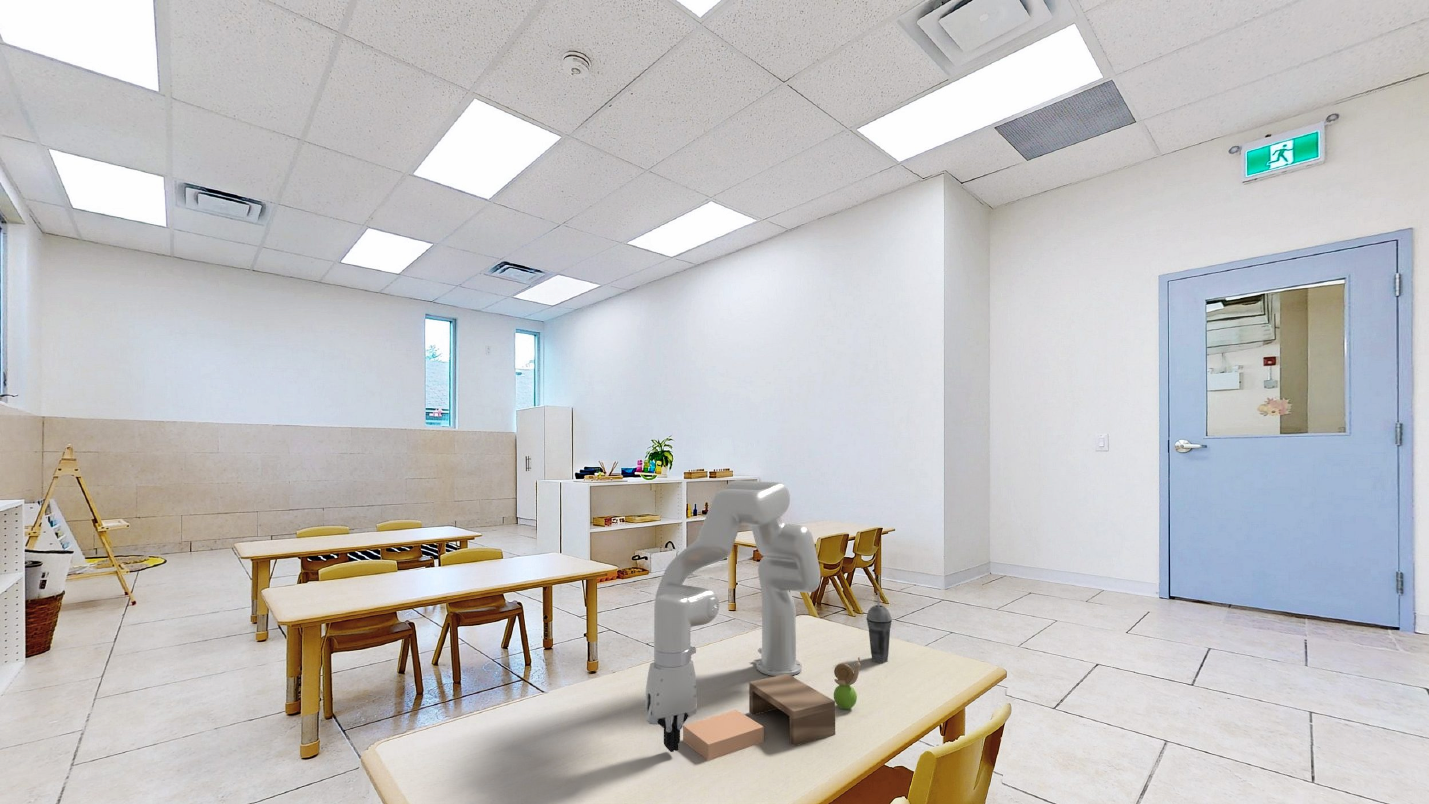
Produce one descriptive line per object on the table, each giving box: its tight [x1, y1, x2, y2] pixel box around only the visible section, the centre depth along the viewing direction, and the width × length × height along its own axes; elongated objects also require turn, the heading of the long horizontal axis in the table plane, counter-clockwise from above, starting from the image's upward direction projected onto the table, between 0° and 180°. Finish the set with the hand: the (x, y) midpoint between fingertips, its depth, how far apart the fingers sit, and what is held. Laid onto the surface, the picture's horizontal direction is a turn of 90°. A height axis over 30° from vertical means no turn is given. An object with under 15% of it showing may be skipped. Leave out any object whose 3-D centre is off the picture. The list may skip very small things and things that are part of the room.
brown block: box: [748, 674, 836, 747], centre depth 139 cm, size 18×11×7 cm, turn 28°
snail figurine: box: [833, 656, 861, 710], centre depth 147 cm, size 5×6×12 cm
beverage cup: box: [866, 590, 893, 664], centre depth 180 cm, size 7×7×20 cm
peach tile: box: [682, 709, 765, 761], centre depth 131 cm, size 10×14×4 cm
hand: (671, 748), depth 125 cm, fingers closed
